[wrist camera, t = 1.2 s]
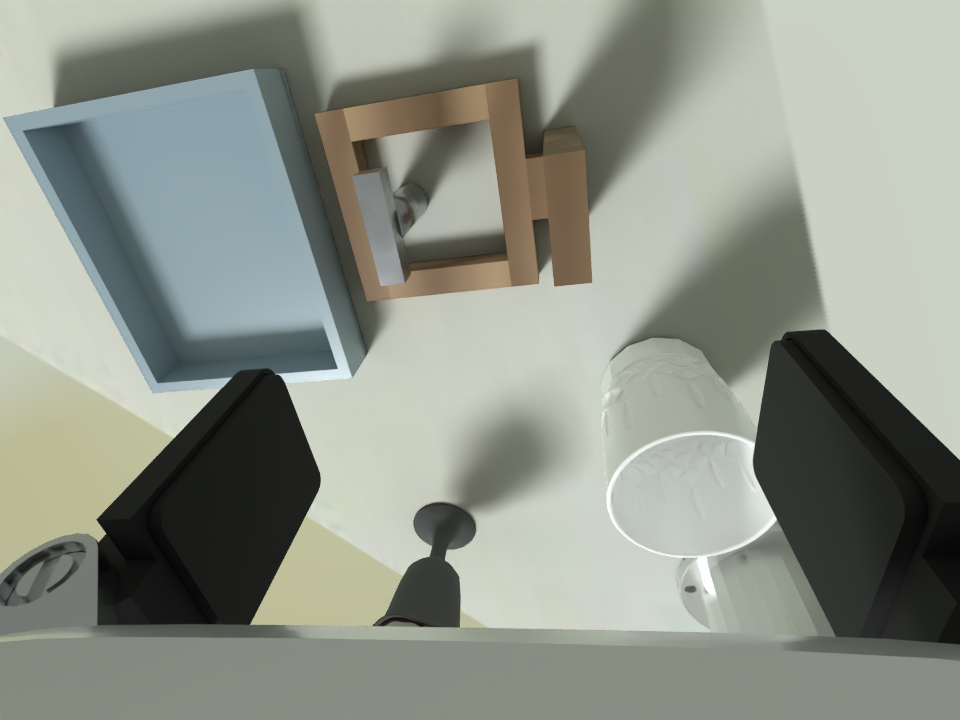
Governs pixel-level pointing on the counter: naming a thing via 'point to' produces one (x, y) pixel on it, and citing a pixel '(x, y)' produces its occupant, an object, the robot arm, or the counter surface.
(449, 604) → the sundae
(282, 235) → the tray
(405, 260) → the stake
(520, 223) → the ring
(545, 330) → the counter surface
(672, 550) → the white cup
